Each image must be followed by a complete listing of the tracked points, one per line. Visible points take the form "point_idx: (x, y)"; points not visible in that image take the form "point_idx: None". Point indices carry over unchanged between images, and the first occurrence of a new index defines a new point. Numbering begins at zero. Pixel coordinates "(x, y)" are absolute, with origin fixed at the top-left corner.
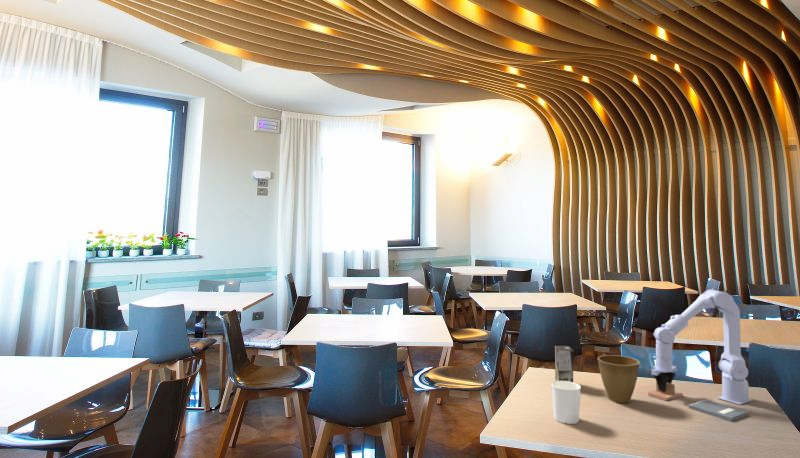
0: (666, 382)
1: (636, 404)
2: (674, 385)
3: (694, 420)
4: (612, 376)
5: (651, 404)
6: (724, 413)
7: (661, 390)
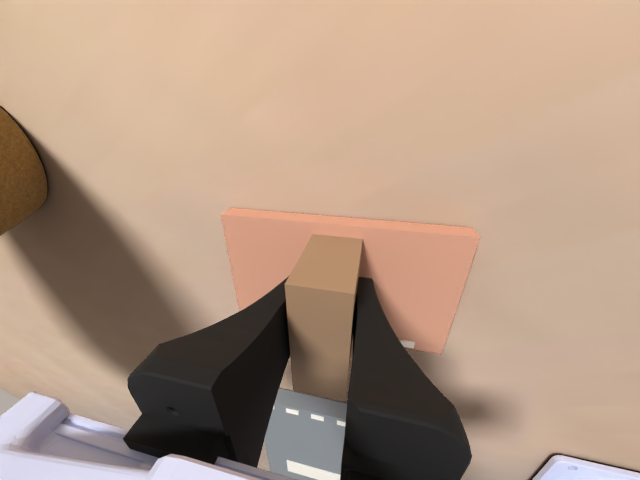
0: (277, 382)
1: (65, 243)
2: (345, 394)
3: None
4: None
5: (137, 283)
6: (291, 471)
7: None
